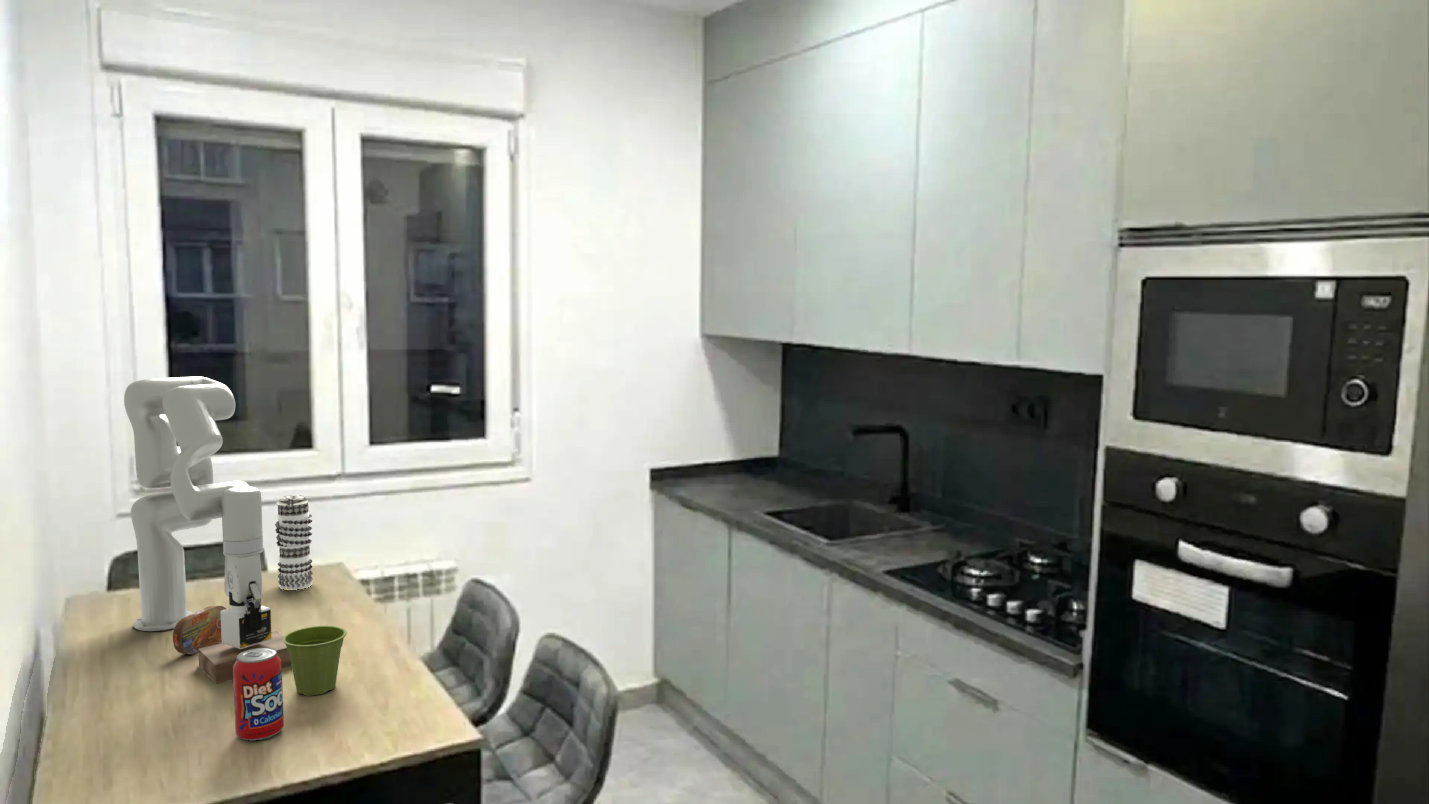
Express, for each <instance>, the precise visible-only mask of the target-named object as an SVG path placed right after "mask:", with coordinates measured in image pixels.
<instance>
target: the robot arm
mask: <svg viewBox="0 0 1429 804" xmlns="http://www.w3.org/2000/svg"><path fill="white" fill-rule="evenodd" d="M123 395H124V398H123V403H124V405H123V406H124V408H125V412H126V415H127V418H128V420H129V423H130V424H131V428H132V431H133V437H134V438H133V439H134V440H133V441H134V455H135V456H134V458H135V459H134V460H135V472H136V479H137V482H138V484H139V486H141V487H142V488H145V489H151V490H152V489H165V488H171V491H167V492H160V493H153V494H148V495H144V496H142V497H140V498H138V499H136V500H135V501H134V503H133V504H132V506H131V508H130V518H131V523H132V527H133V531H134V535H135V539H136V540H135V541H136V548H137V561H138V564H137V565H138V580H139V582H138V583H139V597H140V603H139V604H140V616H139V617H138V618H137V619H135V620H134V621H133V628H134V629H136V630H137V631H143V632H158V631H161V632H162V631H167V630H172V629H173V630H174V628H175V626H176V624H177V623H178V622H179V621H180V620H181V619H182V618H184V617H186V616H189V615H191V614H193V613H194V612H193V611H191V610H188V605H187V603H188V602H187V584H186V583H187V582H186V562H185V561H186V560H185V549H184V547H183V545H182V544H181V542H180V541H179V540H177V539H176V537H174V536H173V534H172V533H174V532H179V531H183V530H189V529H196V528H201V527H205V526H207V525H209V524H210V523H211V522H212V521H213V520H215V519H221V523H222V524H221V529H222V547H223V548H222V549H223V553H222V554H223V556H224V557H225V559H224V593H225V595H226V596H227V597H229V592H231V593H232V597H233V600H234V601H235V602H237V603H241V602H242V601H243V602H244V607H245V611H246V614H244V625H245V632H246V633H249V632H253V631H258V630H261V629H262V622H261V605H262V597H263V575H262V573H263V572H262V566H261V563H262V561H261V556H260V554H261V553H263V552H264V540H263V539H264V536H263V535H264V534H263V508H262V505H263V504H262V492H261V490H260V489H259V488H257V487H254V486H250V485H249V484H248V483H247V482H246V481H243V480H230V481H224V482H222V481H221V482H214V469H213V462H212V458H211V456H213V455H214V454H216V453H217V452H218V451H219V450H220V448H222V446H223V444H224V443H223V442H224V439H223V437H222V436H223V435H222V434H221V431H220V430H219V428H218V425H217V422H216V421H223V420H228V419H230V418H231V417H233V416H234V414H235V411H236V400H235V397H234V394H233V393H232V390H230V388H229V387H228V386H227V385H226V384H224V383H222V382H219V381H217V380H214V379H211V378H209V377H204V376H180V377H179V376H178V377H157V378H156V377H155V378H145V379H139V380H136V381H133V382H131V383H130V384H128V386H127V387H126V388H125V391H124V394H123ZM249 596H252V598H250V599H246V598H247V597H249ZM251 602H253V603H251ZM248 603H251V605H250V607H249V604H248Z"/></svg>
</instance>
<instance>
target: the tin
mask: <svg viewBox="0 0 1429 804" xmlns="http://www.w3.org/2000/svg"><path fill="white" fill-rule="evenodd" d="M225 609H227V608H226V606H225V607H224V606H223V605H212V606H211V605H209V606H206V607H204V608H202V609H200V610H198V611H195V612H193V614H191V615H189V616H186V617H184V618H182V619H181V620H180V621H179V622H178V623H177V624H176V626H175V628H173V631H172V643H173V648H174V649H175V650H176V652H178V653H180V654H183V655H192V656H193V655H198V649H199V648H204V647H208V646H213V645H217V644H220V643H221V642H222V637H221V613H220V612H221V611H222V610H225Z"/></svg>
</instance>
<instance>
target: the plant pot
mask: <svg viewBox="0 0 1429 804" xmlns="http://www.w3.org/2000/svg"><path fill="white" fill-rule="evenodd" d="M347 634H348V633H347V630H346V629H345V628H343V627H340V626H335V625H314V626H306V627H303V628H299V629H296V630H292V631H290V632H288V633H287V634H285V635H283V636H284V637H283V639H282V640H283V642H284V643H285V644H286V647H287V651H288V653H289V656H290V661H291V665H290V666H291V669H292V674H293V679H294V685H295V690H296V692H297V693H298V694H303V695H304V696H310V697H311V696H317V695H318V696H319V695H323V694H325V693H327V692H328V691H330V690H331V691H332V690H334V689H335V688H336V683H337V677H338V670H339V664H340V663H339V662H340V657H341V652H342V651H341V650H342V647H343V643H344V639H345V637H346V636H347Z"/></svg>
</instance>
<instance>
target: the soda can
mask: <svg viewBox="0 0 1429 804" xmlns="http://www.w3.org/2000/svg"><path fill="white" fill-rule="evenodd" d="M232 681H233V684H232V685H233V704H234V722H235V723H234V724H235V725H234V726H235V735H236V736H237V737H238V738H239V739H241V740H244V741H248V740H249V742H257V741H256V740H260V741H264V740H267V738H268V739H269V737H270V738H272V737H274V736H275V735H277V734H278V733H280V732H281V731H282V730H283V729H284V726H285V717H284V716H285V714H284V712H285V711H284V691H283V689H284V688H283V667H282V660H281V658H280V657H279V656H278V655H277V651H276V650H275V649H273V648H256V649H251V650H247V651H244V652H242V653H240V654H239V655H238V656H237V661H236V662H235V664H234V665H233V680H232ZM263 739H264V740H263Z"/></svg>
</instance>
